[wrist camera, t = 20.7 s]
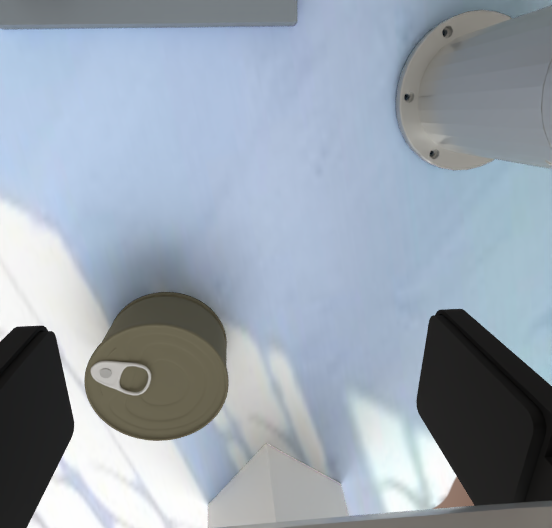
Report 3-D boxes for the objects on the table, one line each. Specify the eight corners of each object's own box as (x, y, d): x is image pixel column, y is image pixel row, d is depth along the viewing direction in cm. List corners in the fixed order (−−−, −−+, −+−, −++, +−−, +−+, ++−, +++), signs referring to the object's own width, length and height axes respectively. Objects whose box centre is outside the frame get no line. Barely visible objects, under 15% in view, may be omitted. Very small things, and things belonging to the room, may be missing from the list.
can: (207, 403, 44) (203, 452, 38) (94, 376, 41) (70, 425, 35) (244, 309, 41) (247, 346, 34) (124, 274, 38) (103, 306, 31)
